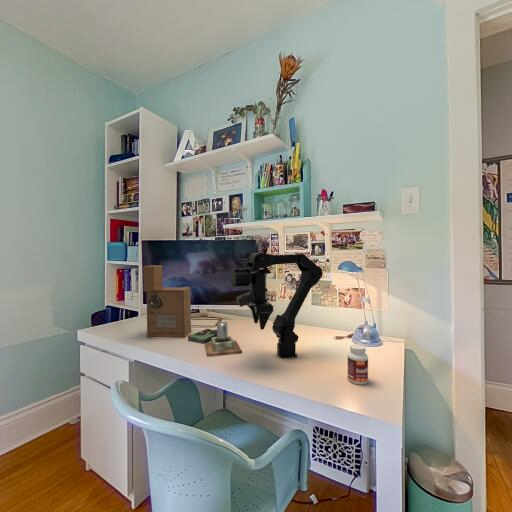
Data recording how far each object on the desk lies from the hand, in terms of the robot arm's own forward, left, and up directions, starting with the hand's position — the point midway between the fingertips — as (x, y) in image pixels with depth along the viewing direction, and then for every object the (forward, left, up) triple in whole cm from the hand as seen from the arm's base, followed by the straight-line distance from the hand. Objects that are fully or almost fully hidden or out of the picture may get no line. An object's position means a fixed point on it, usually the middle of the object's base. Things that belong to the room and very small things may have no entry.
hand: (258, 326), depth 109 cm
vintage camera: (+36, -44, -13) cm, 58 cm away
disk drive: (+18, -34, -14) cm, 40 cm away
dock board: (+12, -16, -13) cm, 24 cm away
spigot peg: (+12, -16, -12) cm, 23 cm away
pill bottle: (-26, +25, -13) cm, 38 cm away
